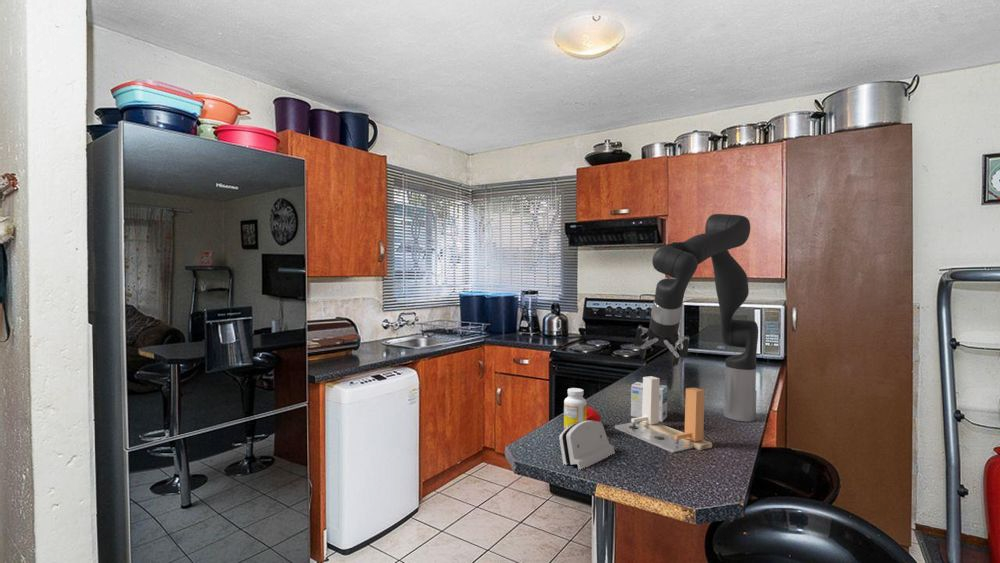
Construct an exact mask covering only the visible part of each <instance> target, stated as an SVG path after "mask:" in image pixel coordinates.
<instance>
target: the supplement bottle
mask: <svg viewBox="0 0 1000 563" xmlns="http://www.w3.org/2000/svg"><path fill="white" fill-rule="evenodd" d="M584 393H585V392H584V389H582V388H577V387H570V388H568V389H567V397H566V398H564V400H563V431H564V430H565V429H566V428H568V427H569V426H571V425H573V424H575V423H577V422H581V421H586V409H587V407H588V406H587V400H586V399H585V398H584V397H583V396H584Z"/></svg>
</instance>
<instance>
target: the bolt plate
mask: <svg viewBox="0 0 1000 563" xmlns="http://www.w3.org/2000/svg"><path fill="white" fill-rule="evenodd" d="M614 429H615V430H618V431H621V432H623V433H625V434H628V435H630V436H632V437H634V438H637V439H639V440H642V441H643V442H646V443H648V444H651V445H653V446H656V447H658V448H661V449H663V450H665V451H667V452H670V453H672V454H674V453H678V452H681V451H686V450H690V449H693V445H691V444H688V443H686V442H683V441H681V440H679V444H675V439H674V438H673V437H670V436H668V435H665V434H663V433H660V432H658V431H655V430H653V429H650V428H647V427H645V426H642V425H640V424H639V423H638V422H635V427H633V426H632V422H627V423H621V424H616V425H614Z"/></svg>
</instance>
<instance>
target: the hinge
mask: <svg viewBox="0 0 1000 563" xmlns="http://www.w3.org/2000/svg"><path fill="white" fill-rule="evenodd" d="M558 439H559V446H560V451H561V457H562V458H561V460H562V464H563V465H564V464H565V465H564V466H567V465H569V464H570V466H571V465H577V469H578V470H579V469H580V470H579V471H582V470H584V469H586V468H588V467H590V466H593V465H594V464H596V463H598V462H600V461H602V460H604V459H606V458H608V456H609V457H610V455H611V456H613V455H615V454H616V452H615V448H614V445H612V444H611V443H610V441H609V438H608V436H607V433H606V430H605V428H604V424H603V422H601V421H600V422H598V421H592V420H591V421H581V422H577V423H575V424H573V425H571V426H569V427H568V428H566V429H565V430H564V429H563V431H562V432H561V433H560V434H559V436H558ZM612 454H613V455H612ZM585 467H586V468H585ZM583 468H584V469H583ZM581 469H582V470H581Z"/></svg>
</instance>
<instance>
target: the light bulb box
mask: <svg viewBox="0 0 1000 563" xmlns="http://www.w3.org/2000/svg"><path fill="white" fill-rule="evenodd" d="M630 390H631V391H630V417H632V418H638V417H642V399H643V382H640V381H636V382H634V383H632V384H631V388H630ZM667 417H668V385H662V384H661V385H660V386H659V422H660V423H663V421H665V420H666V419H667Z"/></svg>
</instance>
